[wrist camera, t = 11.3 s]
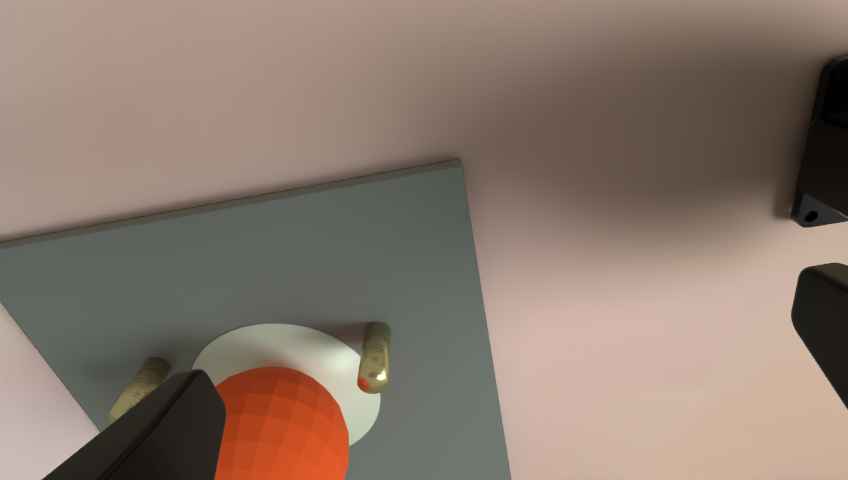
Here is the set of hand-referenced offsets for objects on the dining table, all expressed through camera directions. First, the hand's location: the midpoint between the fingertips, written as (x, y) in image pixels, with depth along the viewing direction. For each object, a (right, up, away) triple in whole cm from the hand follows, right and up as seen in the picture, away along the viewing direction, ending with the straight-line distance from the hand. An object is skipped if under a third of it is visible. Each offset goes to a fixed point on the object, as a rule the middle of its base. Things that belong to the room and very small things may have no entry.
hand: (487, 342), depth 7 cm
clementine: (-7, -6, +16) cm, 19 cm away
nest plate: (-8, -6, +17) cm, 19 cm away
